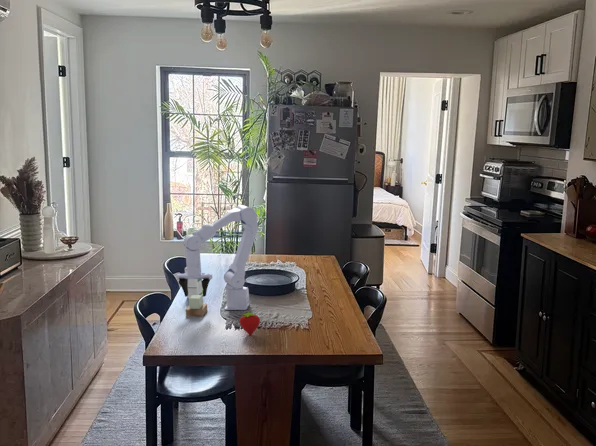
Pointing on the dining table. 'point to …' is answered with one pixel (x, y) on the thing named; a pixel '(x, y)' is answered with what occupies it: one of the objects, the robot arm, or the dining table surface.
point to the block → (196, 311)
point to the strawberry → (249, 322)
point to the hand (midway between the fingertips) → (195, 295)
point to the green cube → (195, 302)
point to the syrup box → (194, 286)
